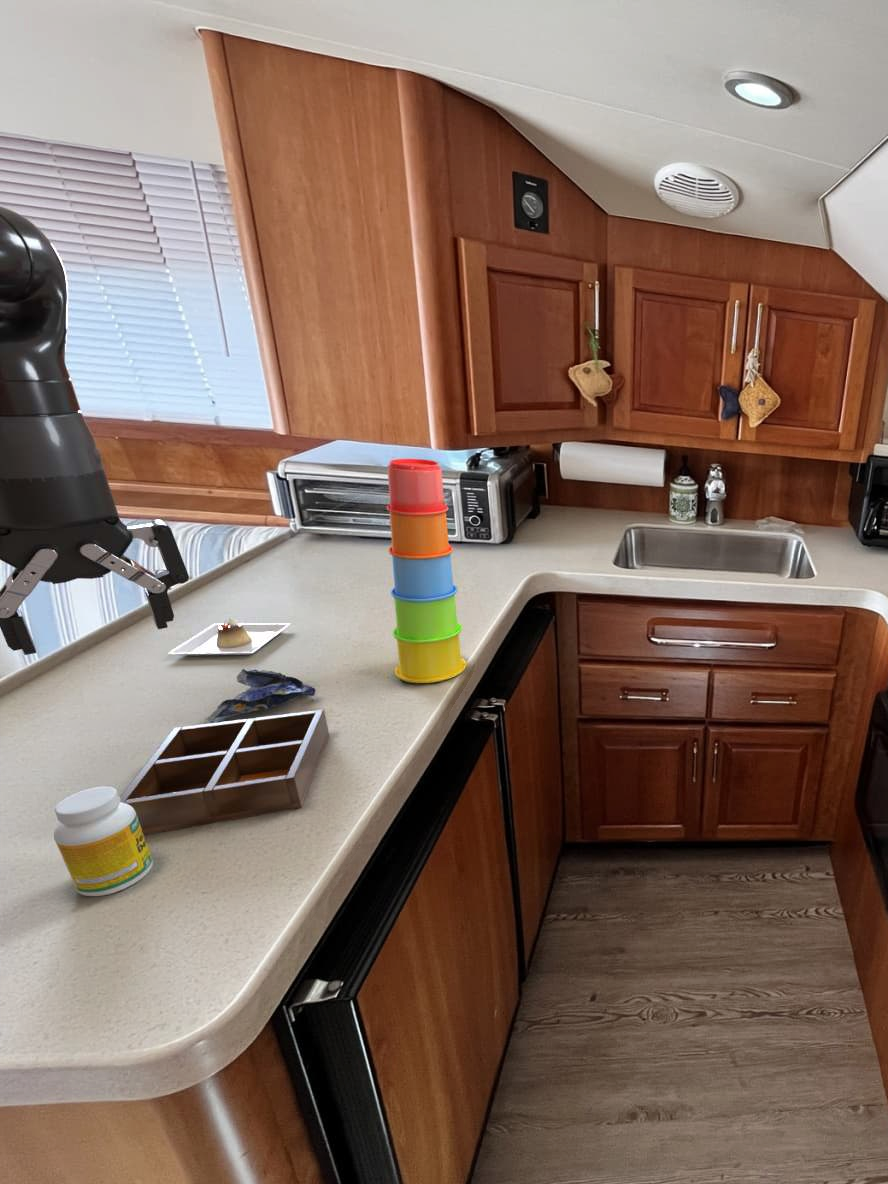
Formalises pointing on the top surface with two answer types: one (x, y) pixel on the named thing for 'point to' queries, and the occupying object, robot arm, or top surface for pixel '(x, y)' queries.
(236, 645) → the dessert
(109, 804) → the supplement bottle
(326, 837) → the top surface
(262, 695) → the snack package
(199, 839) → the top surface
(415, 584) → the stacking cups
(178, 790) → the compartment tray
